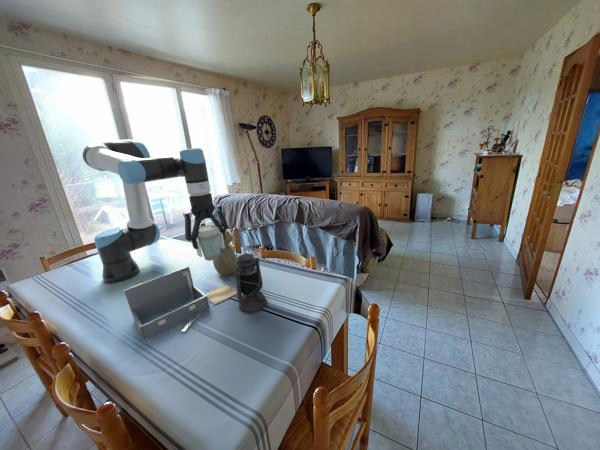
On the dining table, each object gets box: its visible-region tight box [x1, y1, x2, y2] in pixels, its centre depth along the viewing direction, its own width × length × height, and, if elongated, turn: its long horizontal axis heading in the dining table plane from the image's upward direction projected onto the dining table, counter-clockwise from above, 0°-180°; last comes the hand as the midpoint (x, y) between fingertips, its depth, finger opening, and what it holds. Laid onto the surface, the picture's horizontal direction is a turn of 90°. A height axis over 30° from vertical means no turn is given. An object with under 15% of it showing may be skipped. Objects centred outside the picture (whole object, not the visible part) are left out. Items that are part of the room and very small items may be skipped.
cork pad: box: [204, 284, 238, 306], centre depth 101 cm, size 10×10×1 cm
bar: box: [180, 311, 202, 334], centre depth 86 cm, size 10×1×1 cm, turn 171°
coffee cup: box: [197, 224, 221, 262], centre depth 94 cm, size 8×8×12 cm
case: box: [123, 265, 210, 341], centre depth 89 cm, size 15×22×13 cm, turn 134°
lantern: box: [233, 229, 268, 315], centre depth 88 cm, size 12×11×30 cm
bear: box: [212, 229, 240, 277], centre depth 116 cm, size 21×16×25 cm
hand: (211, 251), depth 95 cm, fingers closed on coffee cup, 8 cm apart
